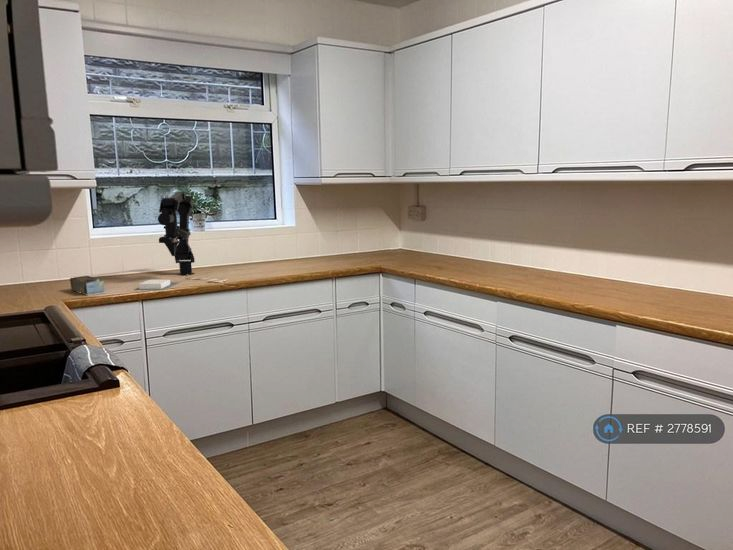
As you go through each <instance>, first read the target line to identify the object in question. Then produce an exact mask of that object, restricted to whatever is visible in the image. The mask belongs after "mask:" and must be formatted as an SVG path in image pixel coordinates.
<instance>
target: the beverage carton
mask: <svg viewBox="0 0 733 550" xmlns="http://www.w3.org/2000/svg"><path fill="white" fill-rule="evenodd" d="M69 281H70V288H71V289H70V290H71V291H72V290H75V291H78V292H81V293H84V294H87V295H88V294H95V293H102V294H104V293H105V282H104V280H102V279H100V278H98V277H97V278H96V277H92V276H89V275H82V276H81V275H80V276H75V277H71V278H70V279H69ZM75 291H74V292H75ZM78 292H77V293H78ZM103 292H104V293H103ZM81 293H80V294H81ZM84 294H83V295H84ZM87 295H86V296H87Z"/></svg>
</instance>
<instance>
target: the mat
mask: <svg viewBox="0 0 733 550" xmlns="http://www.w3.org/2000/svg"><path fill="white" fill-rule="evenodd" d="M179 283H181V282H180V281H179V282H178V281H177V282H176V281H175V282H171V281H170V285H169V286H167V287H165V288H163V289H141V290H139V287H137V288H135V289H134V291H165V290H168V289H170V288H172V287H174V286H176V285H177V284H179Z"/></svg>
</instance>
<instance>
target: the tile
mask: <svg viewBox="0 0 733 550" xmlns="http://www.w3.org/2000/svg"><path fill="white" fill-rule="evenodd" d="M170 282H171V279H148V280H145V281H142V282H140V283H138V288H139V290H138V291H142V290H141V289H163V288H165V287H167V286H169V285H170Z"/></svg>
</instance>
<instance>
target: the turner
mask: <svg viewBox="0 0 733 550" xmlns="http://www.w3.org/2000/svg"><path fill="white" fill-rule="evenodd" d="M186 279H187V280H188V281H205V282H206V283H211V282H219V283H218V284H221V283H224V282H223V281H225V282H227V281H226V280H228V281H229V279H227V278H225V279H224V278H206V277H205V278H203V277H185V280H186ZM220 282H221V283H220Z"/></svg>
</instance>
